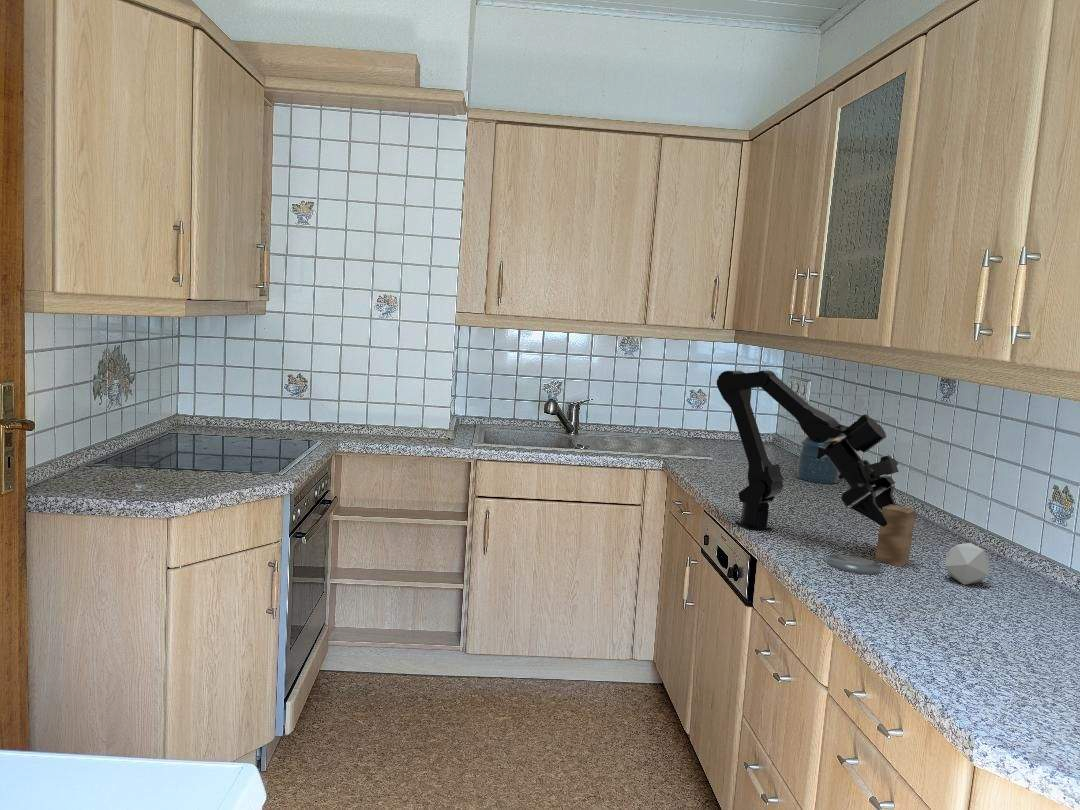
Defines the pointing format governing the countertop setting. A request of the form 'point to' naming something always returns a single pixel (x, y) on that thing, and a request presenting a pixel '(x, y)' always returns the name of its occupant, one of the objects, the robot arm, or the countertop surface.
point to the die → (967, 563)
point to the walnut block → (895, 535)
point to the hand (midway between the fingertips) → (892, 522)
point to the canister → (816, 463)
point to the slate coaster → (853, 564)
